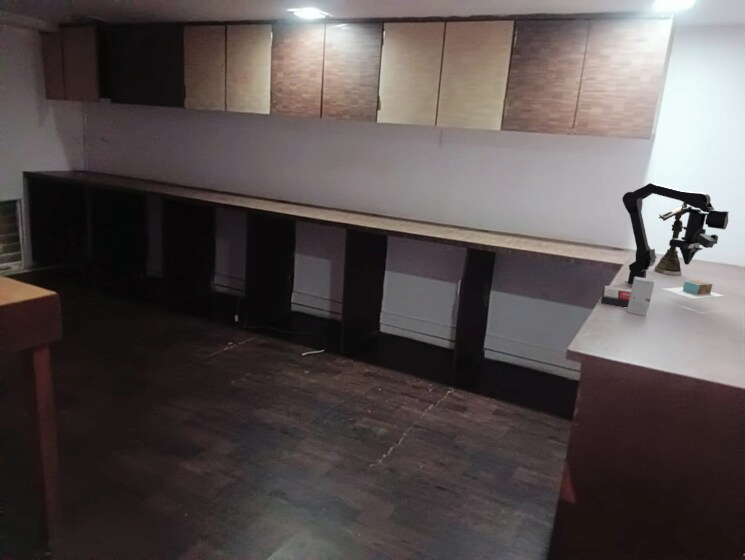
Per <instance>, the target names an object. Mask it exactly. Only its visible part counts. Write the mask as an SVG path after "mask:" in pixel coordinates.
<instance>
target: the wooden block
mask: <svg viewBox="0 0 745 560" xmlns="http://www.w3.org/2000/svg"><path fill="white" fill-rule="evenodd" d="M682 287H683V291H686V292H689V293H693V294H696V295H698V294H709V293H711V292H712V289H713V283H711V282H707V281H703V280H700V279H694V280H693V279H692V280H685V281H684V283H683V286H682Z"/></svg>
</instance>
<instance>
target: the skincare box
mask: <svg viewBox="0 0 745 560" xmlns="http://www.w3.org/2000/svg"><path fill="white" fill-rule="evenodd" d="M654 285H655V281H654V280H653V279H652V278H647V277H646V278H640V277H634V281H633V284H631V289H630V290H631V294H630V299H629V303H628V308H626V310H627V313H628V312H629V314H635V315H640V316H647V315H648V311H649V307H650V302H651V297H652V294H653V290H654Z"/></svg>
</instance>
